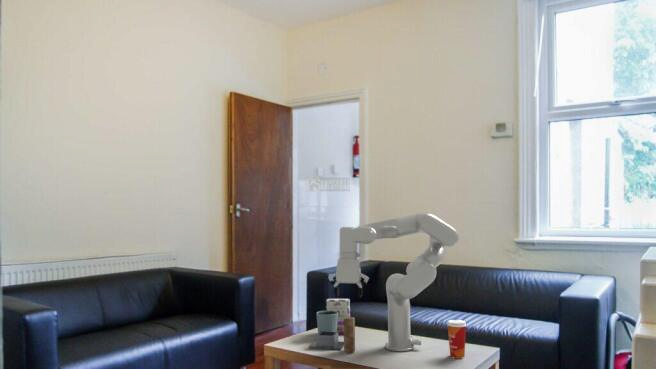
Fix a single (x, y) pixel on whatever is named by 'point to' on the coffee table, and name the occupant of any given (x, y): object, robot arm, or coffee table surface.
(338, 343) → the cup bracket
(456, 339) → the paper cup
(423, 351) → the coffee table surface
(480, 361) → the coffee table surface
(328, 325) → the green tapered container
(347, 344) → the walnut rail
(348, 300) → the candy bar box
